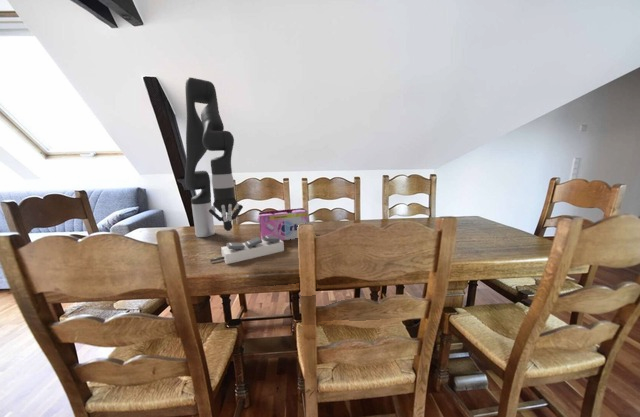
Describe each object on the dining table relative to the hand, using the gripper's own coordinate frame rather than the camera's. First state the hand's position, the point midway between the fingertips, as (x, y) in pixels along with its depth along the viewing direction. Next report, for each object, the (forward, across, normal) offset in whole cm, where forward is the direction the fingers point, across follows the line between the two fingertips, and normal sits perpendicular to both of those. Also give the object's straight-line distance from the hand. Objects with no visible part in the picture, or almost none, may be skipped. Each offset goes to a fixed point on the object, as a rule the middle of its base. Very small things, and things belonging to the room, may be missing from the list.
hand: (228, 230), depth 98 cm
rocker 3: (+8, -17, 0) cm, 19 cm away
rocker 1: (+8, -2, 0) cm, 8 cm away
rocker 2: (+8, -10, 0) cm, 12 cm away
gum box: (+13, -29, -13) cm, 34 cm away
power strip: (+13, -7, -2) cm, 15 cm away
